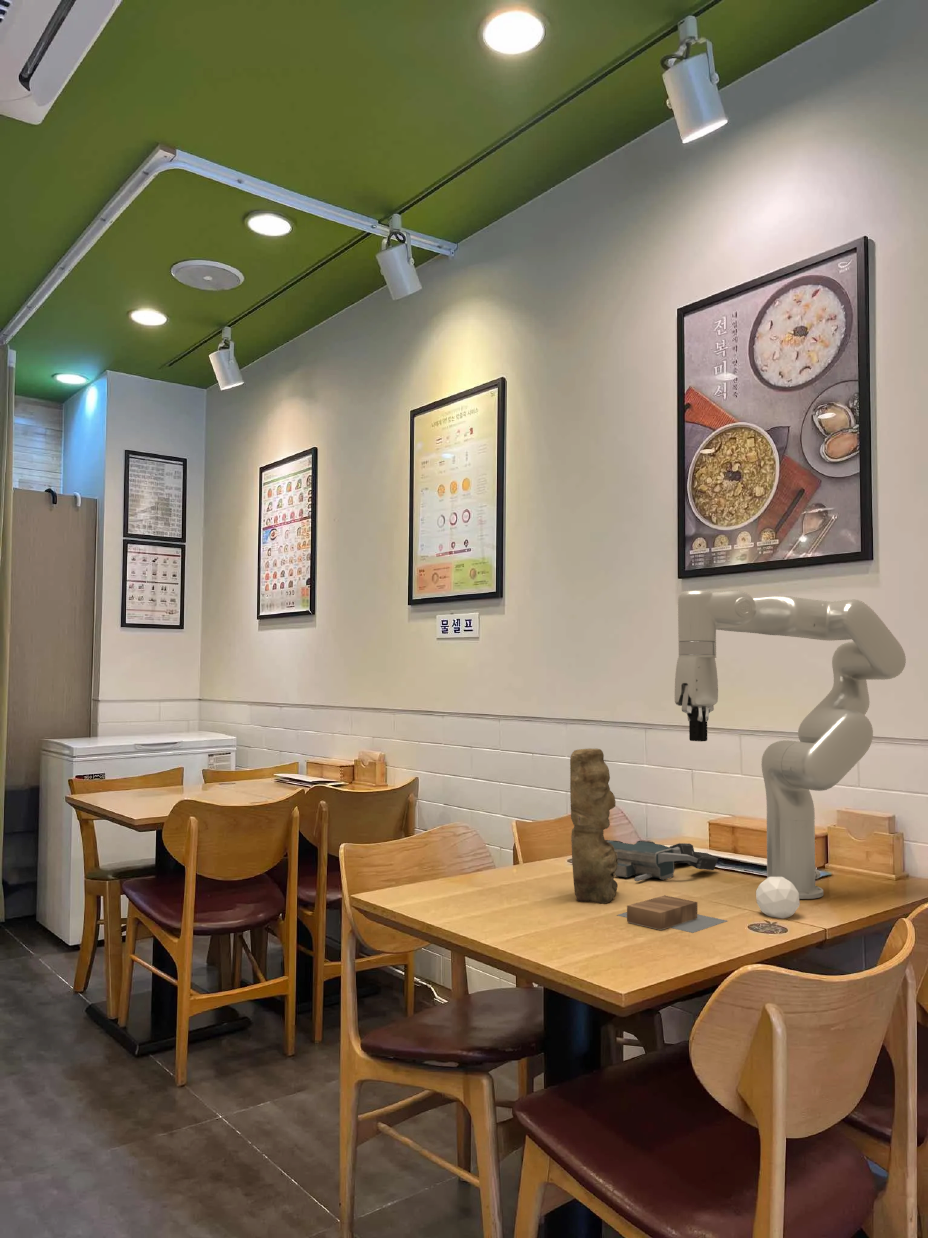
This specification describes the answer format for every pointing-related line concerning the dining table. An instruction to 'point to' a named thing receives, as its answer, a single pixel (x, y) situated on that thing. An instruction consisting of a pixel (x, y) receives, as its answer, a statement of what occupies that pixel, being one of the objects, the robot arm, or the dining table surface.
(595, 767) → the sculpture
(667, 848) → the toy
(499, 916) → the dining table surface
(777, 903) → the geometric ball
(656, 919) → the wooden block
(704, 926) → the mat
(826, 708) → the robot arm
